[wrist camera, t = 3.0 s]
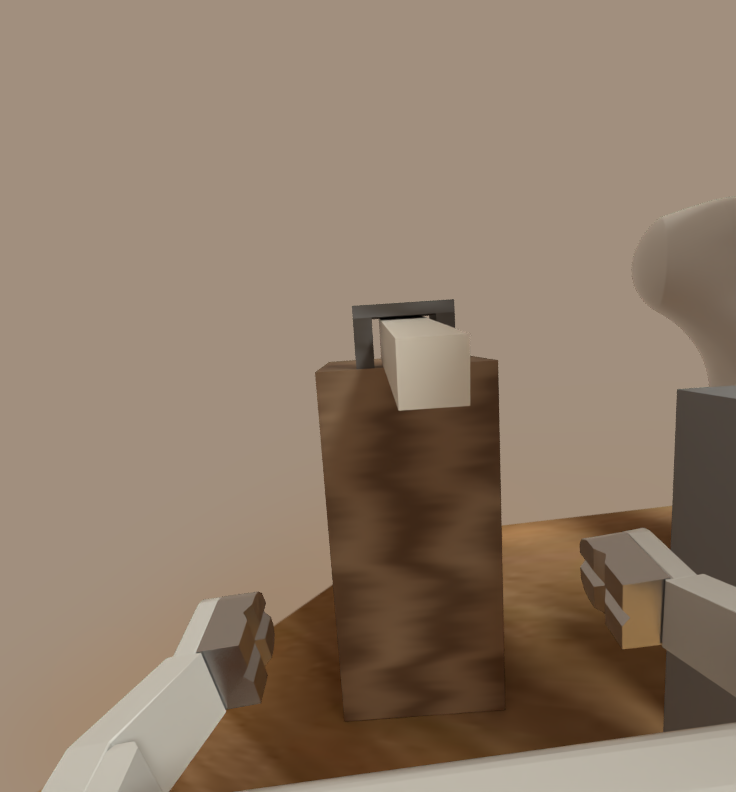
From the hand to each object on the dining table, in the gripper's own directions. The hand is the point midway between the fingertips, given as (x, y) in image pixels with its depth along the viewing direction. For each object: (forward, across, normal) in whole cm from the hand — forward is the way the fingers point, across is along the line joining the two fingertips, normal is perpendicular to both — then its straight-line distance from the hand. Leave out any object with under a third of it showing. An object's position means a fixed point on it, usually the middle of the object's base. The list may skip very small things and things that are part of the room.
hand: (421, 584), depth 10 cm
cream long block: (+14, -2, -1) cm, 14 cm away
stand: (+19, +2, +26) cm, 32 cm away
